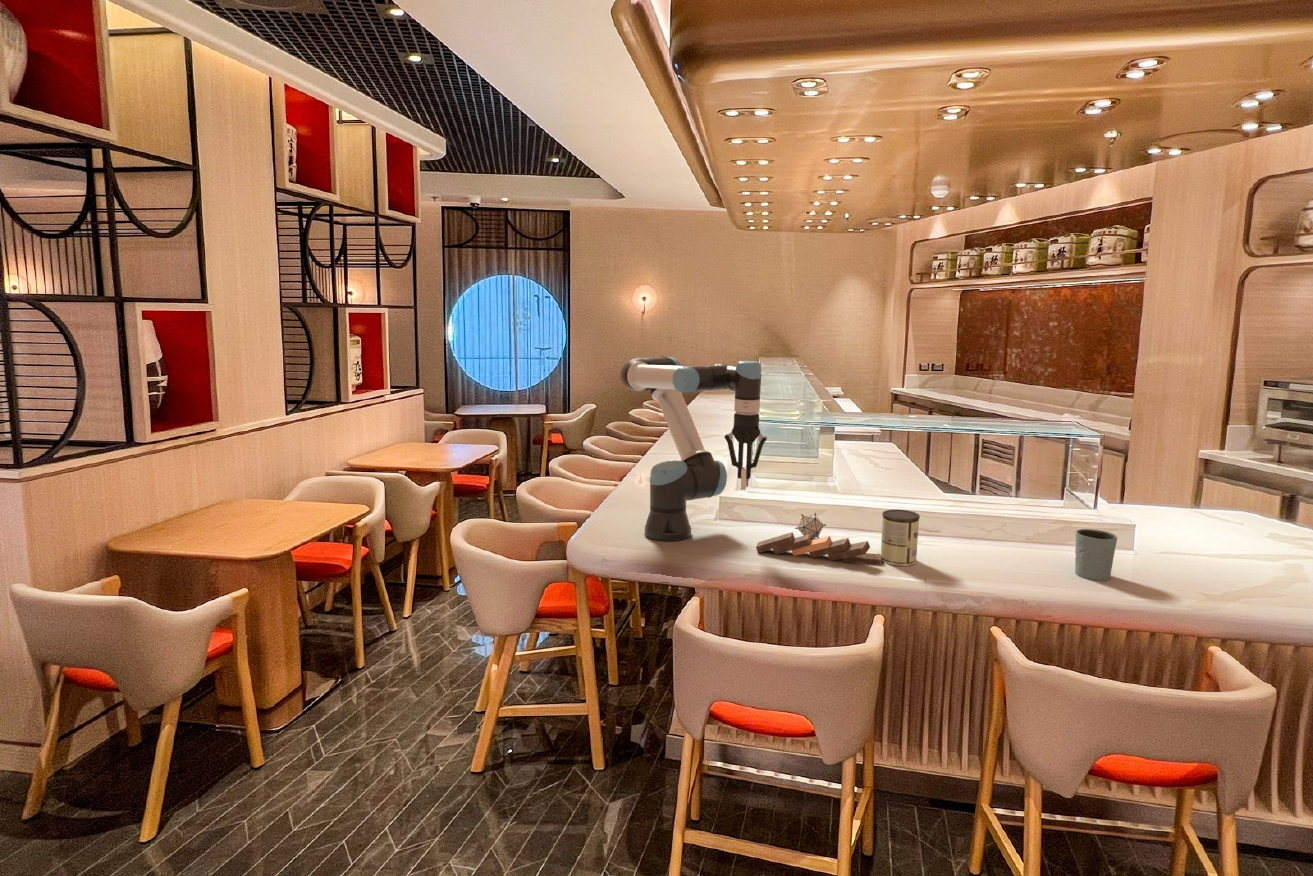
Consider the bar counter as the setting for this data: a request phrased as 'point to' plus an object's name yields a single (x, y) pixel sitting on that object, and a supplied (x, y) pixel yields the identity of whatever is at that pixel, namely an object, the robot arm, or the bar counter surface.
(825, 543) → the domino
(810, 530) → the game die
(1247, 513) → the bar counter surface
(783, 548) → the domino
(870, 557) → the domino
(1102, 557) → the grey green cup
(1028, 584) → the bar counter surface
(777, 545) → the domino
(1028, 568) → the bar counter surface
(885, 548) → the coffee can
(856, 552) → the domino
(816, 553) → the domino
